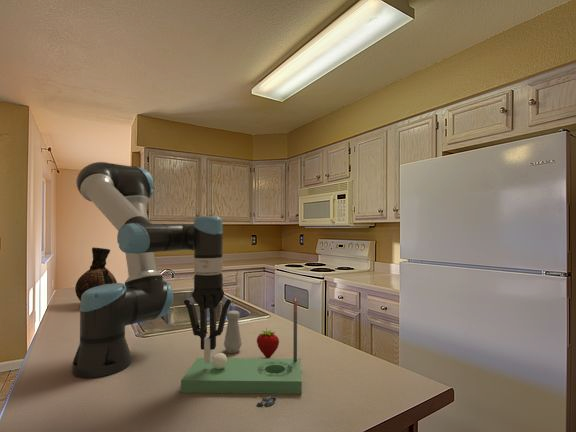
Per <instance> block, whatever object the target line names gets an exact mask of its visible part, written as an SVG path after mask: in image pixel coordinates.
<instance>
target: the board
mask: <svg viewBox="0 0 576 432" xmlns="http://www.w3.org/2000/svg"><path fill="white" fill-rule="evenodd" d="M212 360H213V357H212ZM301 363H302V361H301V358H298V296H294V297H293V358H274V357H273V358H272V357H270V358H266V357H265V358H262V357H261V358H257V357H255V358H252V357H251V358H249V357H247V358H246V357H227V364H226V366H225V367H224V368H222V369H216V368H215V367H214V366H213V364H212V361H211V362H210V363H204V357H197V358H195V360H194V362H193V363H192V364H191V366H190V367H189V368H188V370H187V371H186V373H185V374H184V376H182V378H181V380H180V393H190V394H191V393H193V394H194V393H197V394H198V393H202V394H205V393H206V394H213V393H214V394H218V393H219V394H282V395H283V394H285V395H286V394H290V395H291V394H294V395H295V394H300V395H301V394H302V393H303V392H302V388H303V387H302V386H303V385H302V381H303V380H302V368H301V367H302V366H301V365H302V364H301Z"/></svg>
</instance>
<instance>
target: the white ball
mask: <svg viewBox="0 0 576 432" xmlns="http://www.w3.org/2000/svg"><path fill="white" fill-rule="evenodd" d="M212 358H213V360H212V364H213V366H214V367H215V368H216V369H222V368H224V367H225V366H226V364H227V358H228V357H227V355H226V354H225V353H222V352H219V353H216V354H215V355H214V356H212Z"/></svg>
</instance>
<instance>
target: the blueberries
mask: <svg viewBox="0 0 576 432" xmlns="http://www.w3.org/2000/svg"><path fill="white" fill-rule="evenodd" d="M256 399H260V397H259V396H257V397H256ZM276 401H277V399H276V397H275V396H274V395H272V396H270V395H268V396H267V397H264V396H263V395H262V396H261V401H260V402H258V403H256V405H255V407H257V408H270V407H272V405H273V406H274V404H275V402H276Z"/></svg>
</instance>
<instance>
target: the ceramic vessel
mask: <svg viewBox="0 0 576 432" xmlns="http://www.w3.org/2000/svg"><path fill="white" fill-rule="evenodd" d="M91 252H92V262H91V265H90V266H89V269H88V270H86V271H85V272H84V273H83V274H82V275H81V276H80V277H78V279H77V281H76V283H75V289H74V290H75V295H76V297H77V299H78V300H79V302H81V296H82V294H83V293H84V292H85V291H87V290H88V289H91V288H93V287H96V286H100V285H105V284H112V283H118V281H117V279H116V276H114V274H113V273H112V272H111V271H110V270H109V269H108V268H106V266H107V258H108V256H109V254H110V252H111V249H109V248H102V247H94V246H93V247H92V248H91Z"/></svg>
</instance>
